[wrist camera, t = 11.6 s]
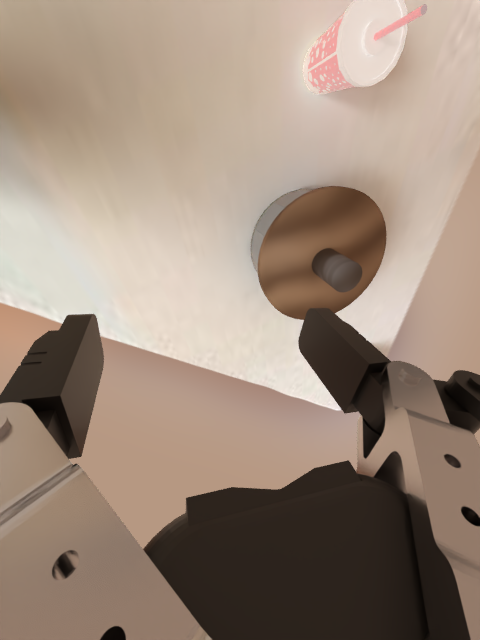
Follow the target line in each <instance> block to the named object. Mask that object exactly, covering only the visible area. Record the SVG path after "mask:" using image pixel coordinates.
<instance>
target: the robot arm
mask: <svg viewBox="0 0 480 640" xmlns="http://www.w3.org/2000/svg"><path fill="white" fill-rule="evenodd" d="M299 349H300V352H301V353H302V355H303V356H304V358H305V359H306V360H307V362H308V363H309V365H310V366H311V367H312V369H313V370H314V371H315V373H316V374H317V376H318V377H319V378H320V380H321V381H322V383H323V384H324V385H325V387H326V388H327V390H328V391H329V392H330V394H331V395H332V396H333V398H334V399H335V401H336V402H337V403H338V405H339V406H340V408H341V409H342V410H343V411H344V413H351V412H357V411H359V413H360V414H361V415H360V417H359V419H358V462H357V471H355V470H354V468H353V466H352V465H351V463H350V462H349V461H344V462H340V463H335V464H331V465H327V466H323V467H318V468H314V469H312V470H311V471H309V472H308V473H306V474H305V475H303V476H301V477H300V478H298V479H297V480H295V481H293V482H292V483H290V484H289V485H287V486H285V487H284V488H282V489H278V490H271V489H252V488H235V487H231V488H227V489H223V490H218V491H214V492H210V493H206V494H201V495H197V496H193V497H188V498H186V513H185V514H183V515H181V516H179V517H178V518H176V519H175V520H173V521H172V522H171V523H169V524H168V525H167V526H165V527H164V528H163V529H162V530H161V531H160V532H159V533H158V534H157V535H156V536H155V537H153V538H152V540H151V541H150V542H149V543H148V544H147V545H146V547H145V548H144V549H142V548H141V546H140V545H139V544H138V542H137V541H136V540H135V538H134V537H133V536H132V534H131V533H130V532H129V530H128V529H127V528H126V526H125V525H124V524H123V522H122V521H121V520H120V518H119V517H118V516H117V514H116V513H115V512H114V511H113V509H112V508H111V506H110V505H109V504H108V502H107V501H106V500H105V498H104V497H103V496H102V494H101V493H100V492H99V490H98V489H97V488H96V486H95V485H94V484H93V482H92V481H91V480H90V478H89V477H88V476H87V474H86V473H85V472H84V471H83V469H82V468H81V467H80V466H79V465H78V464H75V465H73V464H72V463H71V462H70V461H69V459H71V458H76V457H81V456H82V452H83V448H84V444H85V439H86V435H87V431H88V427H89V423H90V419H91V415H92V411H93V407H94V403H95V398H96V394H97V390H98V386H99V383H100V379H101V374H102V370H103V363H104V355H103V348H102V343H101V338H100V333H99V328H98V323H97V318H96V316H95V315H94V314H80V315H68V316H67V317H66V318H65V320H64V322H63V324H62V326H61V328H60V329H59V330H58V331H48V332H47V333H46V334H44V335H43V336H41V337H40V338H39V339H37V340H36V341H35V342H34V343H33V345H32V347H31V348H30V350H29V351H28V354H27V355H26V356H25V357H24V359H23V361H22V362H21V366H19V367H18V368H17V370H16V371H15V373H14V375H13V376H12V378H11V379H10V381H9V383H8V384H7V386H6V387H5V389H4V390H3V392H2V393H1V395H0V640H480V446H479V444H478V442H477V440H476V438H475V436H474V434H475V433H476V432H477V430H478V429H479V428H480V375H478V374H475V373H472V372H469V371H463V370H460V371H456V372H454V373H453V375H452V376H451V377H450V379H449V380H448V381H447V382H445V381H439V380H433V379H432V378H431V377H430V376H429V375H428V374H427V373H426V372H424V371H423V370H421V369H420V368H418V367H416V366H414V365H412V364H409V363H405V362H401V361H393V362H391V361H390V360H389V359H388V358H387V357H385V356H384V355H383V354H382V353H381V352H380V351H379V350H378V349H377V348H375V347H374V346H373V345H372V344H371V343H370V342H369V341H368V340H367V341H366V339H365V338H364V337H363V336H362V335H361V334H359V332H357V331H356V330H355V329H354V328H353V327H352V326H351V325H349V324H347V323H346V322H344V321H342V320H341V319H340V318H339V317H338V316H337V315H336V314H335V313H333V312H332V311H331V310H330V309H329V308H310V309H309V310H308V311H307V313H306V316H305V319H304V323H303V326H302V330H301V333H300V337H299Z"/></svg>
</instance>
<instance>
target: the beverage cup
mask: <svg viewBox="0 0 480 640" xmlns="http://www.w3.org/2000/svg"><path fill="white" fill-rule="evenodd" d="M426 10H427V6H426V4H424V5H422V6H421V7H419V8H417V9H416V10H414V11H412V12H411V13H409V14H407V7H406V4H405V1H404V0H353V2H352V3H351V4H350V6H349V7H348V8H347V10H346V11H345V13H344V14H343V15H342V16H341V17H340V18H339V19H338V20H337V21H336V22H335V23H334V24H333V25H332V26H331V27H330V28H328V29H327V30H326V31H325V32H324V33H323V34H322V35H321V36H320V37H319V38H318V39H317V40H316V41H315V42H314V43H313V45H312V46H311V47H310V49H309V50H308V51H307V54H306V57H305V59H304V63H303V76H304V81H305V84H306V86H307V87H308V89H309V90H310V91H311V92H313V93H314V94H326V93H330V92H334V91H339V90H343V89H347V88H351V87H368V86H372V85H374V84H376V83H378V82H380V81H381V80H383V79H385V78H386V76H387V75H388V74H389V73H390V72H391V70H392V69H393V68H394V67H395V66H396V63H397V61H398V59H399V57H400V55H401V53H402V51H403V49H404V44H405V39H406V35H407V30H408V23H409V22H411V21H413V20H414V19H416V18H418V17H420V16H422V15H423V14H425V13H426Z"/></svg>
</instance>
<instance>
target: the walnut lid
mask: <svg viewBox="0 0 480 640" xmlns="http://www.w3.org/2000/svg"><path fill="white" fill-rule="evenodd" d="M385 246H386V227H385V222H384V218H383V215H382V213H381V211H380V209H379V207H378V206H377V205H376V203H375V202H374V201H373V200H372V199H371V198H370V197H369V196H367V195H366V194H364V193H363V192H360V191H358V190H355V189H351V188H346V187H341V186H329V187H322V188H318V189H315V190H312V191H310V192H307V193H305V194H303V195H301V196H300V197H298V198H296V199H295V200H294V201H292V202H291V203H290V204H289V205H287V206H286V207H285V208H284V209H283V210H282V211H281V212H280V213H279V215H278V216H277V217H276V218H275V220H274V221H273V222H272V224H271V225H270V227H269V229H268V230H267V232H266V235H265V237H264V239H263V242H262V244H261V247H260V252H259V256H258V277H259V282H260V285H261V288H262V290H263V292H264V294H265V296H266V297H267V299H268V300H269V301H270V303H271V304H272V305H273V306H274V307H275V308H276V309H277V310H278V311H280V312H281V313H282V314H284V315H287V316H289V317H292V318H295V319H301V320H304V319H305V316H306V313H307V311H308V310H309V309H310V308H329V309H330V310H331V311H332V312H333V313H336V312H338V311H340V310H342V309H343V308H345V307H346V306H348V305H349V304H351V303H352V302H353V301H354V300H355V299H357V298H358V297H359V296H360V295H361V294H362V293H363V291H364V290H365V289H366V288H367V287H368V285H369V284H370V283H371V281H372V280H373V278H374V276H375V275H376V273H377V271H378V269H379V267H380V264H381V262H382V259H383V255H384V251H385Z"/></svg>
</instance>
